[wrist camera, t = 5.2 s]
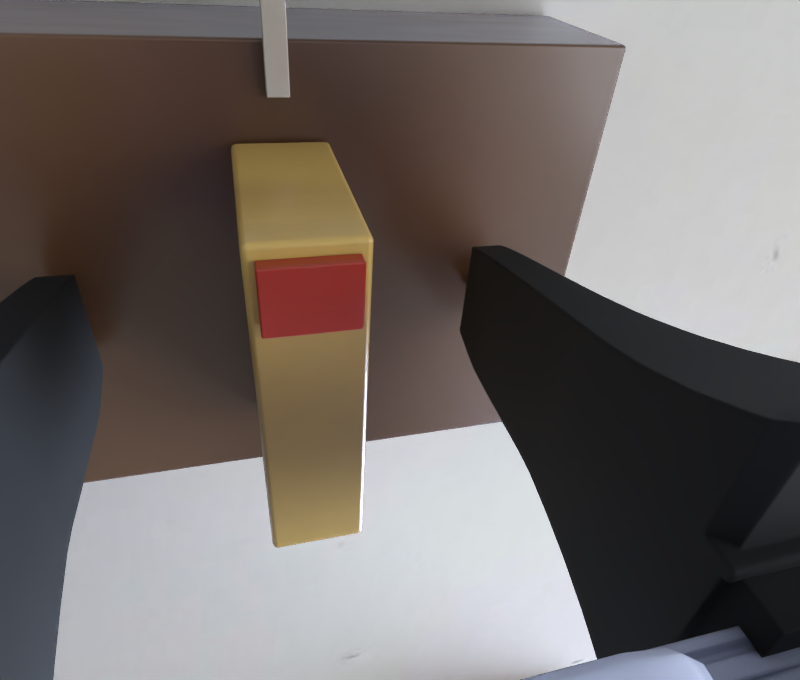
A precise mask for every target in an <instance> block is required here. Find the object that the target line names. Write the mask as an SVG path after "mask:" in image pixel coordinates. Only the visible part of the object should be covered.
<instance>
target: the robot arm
mask: <svg viewBox="0 0 800 680" xmlns="http://www.w3.org/2000/svg"><path fill="white" fill-rule="evenodd" d="M460 333H461V336H462V339H463V342H464V345H465V348H466V351H467V353H468V356H469V358H470V361H471V364H472V366H473V369H474V371H475V373H476V375H477V377H478V379H479V380H480V382H481V384H482V386H483V388H484V390H485V391H486V393H487V395H488V397H489V399H490V401H491V402H492V404H493V406H494V408H495V409H496V411H497V413H498V415H499V417H500V418H501V420H502V422H503V424H504V426H505V427H506V429H507V431H508V433H509V435H510V436H511V438H512V440H513V442H514V443H515V445H516V447H517V449H518V451H519V452H520V454H521V456H522V458H523V460H524V462H525V464H526V466H527V468H528V470H529V472H530V475H531V477H532V480H533V482H534V484H535V487H536V489H537V492H538V494H539V496H540V499H541V501H542V504H543V506H544V508H545V511H546V513H547V516H548V518H549V521H550V524H551V526H552V529H553V531H554V534H555V537H556V539H557V542H558V544H559V547H560V550H561V552H562V555H563V557H564V560H565V563H566V566H567V569H568V572H569V575H570V577H571V580H572V583H573V586H574V589H575V592H576V595H577V598H578V600H579V603H580V606H581V609H582V612H583V615H584V618H585V622H586V625H587V628H588V631H589V634H590V638H591V641H592V644H593V647H594V650H595V654H596V657H597V660H594V661H590V662H586V663H582V664H578V665H575V666H571V667H567V668H563V669H559V670H556V671H552V672H548V673H544V674H540V675H536V676H533V677H529V678H525V679H521V680H800V363H798V362H794V361H789V360H785V359H780V358H776V357H772V356H768V355H764V354H760V353H756V352H752V351H748V350H745V349H741V348H738V347H734V346H731V345H728V344H724V343H721V342H718V341H714V340H711V339H708V338H705V337H702V336H699V335H696V334H693V333H690V332H687V331H684V330H681V329H679V328H676V327H673V326H671V325H668V324H665V323H663V322H660V321H658V320H655V319H652V318H650V317H647V316H645V315H643V314H640V313H638V312H635V311H633V310H631V309H629V308H627V307H624V306H622V305H620V304H618V303H616V302H614V301H612V300H609V299H607V298H605V297H603V296H601V295H599V294H597V293H595V292H593V291H591V290H589V289H587V288H585V287H583V286H581V285H579V284H577V283H575V282H574V281H572V280H570V279H568V278H566V277H564V276H562V275H560V274H559V273H557V272H555V271H553V270H551V269H549V268H547V267H545V266H544V265H542V264H540V263H538V262H536V261H534V260H532V259H530V258H528V257H526V256H525V255H523V254H521V253H518V252H516V251H514V250H512V249H510V248H507V247H505V246H502V245H495V246H480V247H472V253H471V259H470V266H469V272H468V279H467V285H466V292H465V298H464V305H463V311H462V318H461V324H460ZM103 371H104V367H103V364H102V361H101V357H100V354H99V351H98V348H97V345H96V342H95V338H94V335H93V332H92V329H91V326H90V322H89V319H88V316H87V313H86V310H85V307H84V303H83V300H82V297H81V294H80V291H79V287H78V284H77V281H76V278H75V275H59V276H45V277H34V278H33V279H31V280H29V281H28V282H26V283H25V284H24V285H22V286H21V287H19V288H18V289H17V290H15V291H14V292H13V293H12V294H10V295H9V296H8V297H6V298H5V299H4V300H3V301H1V302H0V680H53V676H54V664H55V655H56V645H57V635H58V626H59V616H60V606H61V598H62V591H63V583H64V575H65V567H66V559H67V551H68V546H69V541H70V536H71V531H72V526H73V522H74V518H75V514H76V510H77V506H78V502H79V498H80V494H81V490H82V486H83V482H84V478H85V474H86V470H87V466H88V462H89V458H90V454H91V450H92V446H93V442H94V438H95V434H96V430H97V425H98V421H99V416H100V407H101V397H102V385H103Z"/></svg>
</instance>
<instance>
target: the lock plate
mask: <svg viewBox="0 0 800 680" xmlns="http://www.w3.org/2000/svg"><path fill="white" fill-rule="evenodd" d="M259 4H260V7H246V6H215V5H184V4H153V3H122V2H91V1H61V0H0V302H1V301H3V300H4V299H5V298H6V297H8V296H9V295H10V294H12V293H13V292H14V291H15V290H17V289H18V288H19V287H21V286H22V285H24V284H25V283H26V282H28V281H29V280H31V279H33V278H34V277H45V276H59V275H75V278H76V281H77V284H78V287H79V291H80V294H81V297H82V300H83V303H84V307H85V310H86V313H87V316H88V319H89V322H90V326H91V329H92V332H93V335H94V338H95V342H96V345H97V348H98V351H99V354H100V357H101V361H102V364H103V367H104V371H103V385H102V397H101V407H100V416H99V421H98V425H97V430H96V434H95V438H94V442H93V446H92V450H91V454H90V458H89V462H88V466H87V470H86V474H85V478H84V482H83V483H86V482H93V481H100V480H106V479H113V478H120V477H127V476H134V475H141V474H147V473H154V472H161V471H168V470H175V469H182V468H188V467H195V466H202V465H209V464H216V463H223V462H229V461H236V460H243V459H250V458H257V457H263V453H262V445H261V436H260V427H259V418H258V410H257V401H256V392H255V383H254V375H253V366H252V357H251V349H250V340H249V331H248V322H247V314H246V305H245V296H244V287H243V279H242V270H241V261H240V252H239V242H238V230H237V218H236V206H235V194H234V182H233V170H232V158H231V147H232V145H235V144H253V143H300V142H326V143H329V145H330V147H331V149H332V151H333V154H334V156H335V158H336V160H337V162H338V164H339V166H340V169H341V171H342V173H343V175H344V177H345V179H346V181H347V184H348V186H349V188H350V190H351V192H352V194H353V196H354V199H355V201H356V203H357V205H358V207H359V209H360V211H361V214H362V216H363V218H364V220H365V222H366V224H367V227H368V229H369V231H370V233H371V235H372V237H373V240H374V243H373V268H372V292H371V317H370V342H369V367H368V391H367V416H366V441H373V440H380V439H386V438H393V437H400V436H407V435H414V434H421V433H427V432H434V431H441V430H448V429H455V428H462V427H468V426H475V425H482V424H489V423H496V422H502V420H501V418H500V417H499V415H498V413H497V411H496V409H495V408H494V406H493V404H492V402H491V401H490V399H489V397H488V395H487V393H486V391H485V390H484V388H483V386H482V384H481V382H480V380H479V379H478V377H477V375H476V373H475V371H474V369H473V366H472V364H471V361H470V358H469V356H468V353H467V351H466V348H465V345H464V342H463V339H462V336H461V333H460V324H461V318H462V311H463V305H464V298H465V292H466V285H467V279H468V272H469V266H470V259H471V253H472V247H480V246H495V245H502V246H505V247H507V248H510V249H512V250H514V251H516V252H518V253H521V254H523V255H525V256H526V257H528V258H530V259H532V260H534V261H536V262H538V263H540V264H542V265H544V266H545V267H547V268H549V269H551V270H553V271H555V272H557V273H559V274H560V275H562V276H564V275H565V272H566V268H567V264H568V261H569V257H570V253H571V249H572V246H573V242H574V238H575V234H576V231H577V227H578V223H579V220H580V216H581V212H582V208H583V205H584V201H585V197H586V194H587V190H588V186H589V182H590V179H591V175H592V171H593V168H594V164H595V160H596V156H597V153H598V149H599V145H600V141H601V138H602V134H603V130H604V127H605V123H606V119H607V115H608V112H609V108H610V104H611V101H612V97H613V93H614V89H615V86H616V82H617V78H618V75H619V71H620V67H621V63H622V60H623V56H624V52H625V46H624V45H622V44H620V43H617V42H614V41H612V40H609V39H607V38H604V37H601V36H599V35H596V34H594V33H591V32H588V31H586V30H583V29H581V28H578V27H575V26H573V25H570V24H568V23H565V22H562V21H560V20H557V19H555V18H552V17H549V16H524V15H493V14H463V13H432V12H401V11H370V10H339V9H308V8H286V0H259ZM366 441H365V442H366Z"/></svg>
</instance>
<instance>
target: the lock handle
mask: <svg viewBox="0 0 800 680" xmlns="http://www.w3.org/2000/svg"><path fill="white" fill-rule="evenodd" d="M231 158H232V170H233V182H234V194H235V206H236V218H237V230H238V242H239V252H240V261H241V270H242V279H243V287H244V296H245V305H246V314H247V322H248V331H249V340H250V349H251V357H252V366H253V375H254V383H255V392H256V401H257V410H258V418H259V427H260V436H261V445H262V453H263V462H264V471H265V480H266V488H267V497H268V506H269V515H270V523H271V532H272V541H273V544H274V546H275V547H278V548H279V547H284V546H290V545H295V544H301V543H306V542H312V541H317V540H322V539H328V538H333V537H339V536H344V535H350V534H355V533H359V532H361V529H362V515H363V490H364V466H365V441H366V416H367V391H368V367H369V342H370V317H371V292H372V268H373V243H374V240H373V237H372V235H371V233H370V231H369V229H368V227H367V224H366V222H365V220H364V218H363V216H362V214H361V211H360V209H359V207H358V205H357V203H356V201H355V199H354V196H353V194H352V192H351V190H350V188H349V186H348V184H347V181H346V179H345V177H344V175H343V173H342V171H341V169H340V166H339V164H338V162H337V160H336V158H335V156H334V154H333V151H332V149H331V147H330V145H329V143H326V142H300V143H253V144H235V145H232V147H231Z"/></svg>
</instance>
